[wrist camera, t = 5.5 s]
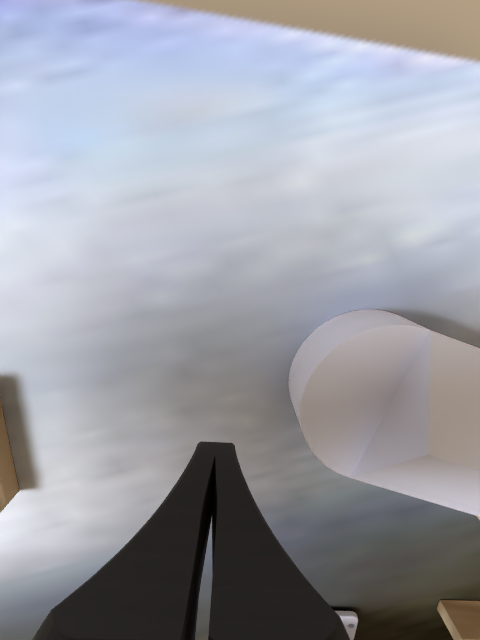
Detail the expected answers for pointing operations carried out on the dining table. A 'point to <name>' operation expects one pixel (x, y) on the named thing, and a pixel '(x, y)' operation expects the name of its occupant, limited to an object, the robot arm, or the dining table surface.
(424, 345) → the wedge on round base
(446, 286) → the dining table surface
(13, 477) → the banker's lamp
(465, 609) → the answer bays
